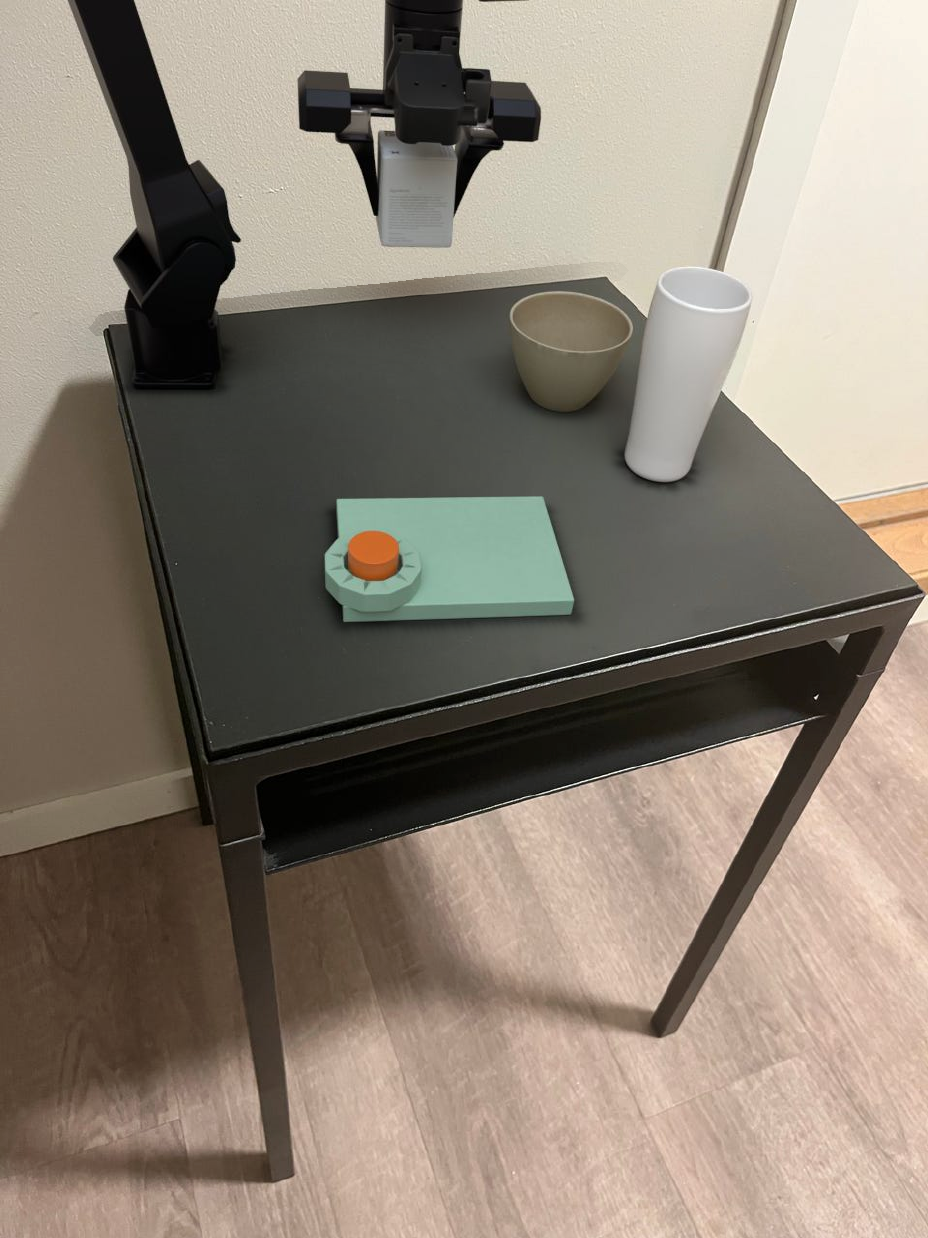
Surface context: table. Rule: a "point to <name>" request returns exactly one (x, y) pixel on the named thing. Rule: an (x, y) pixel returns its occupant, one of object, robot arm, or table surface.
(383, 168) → the white cardboard box
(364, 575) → the button
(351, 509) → the scale
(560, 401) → the flower pot
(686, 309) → the drinking glass
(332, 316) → the table surface
